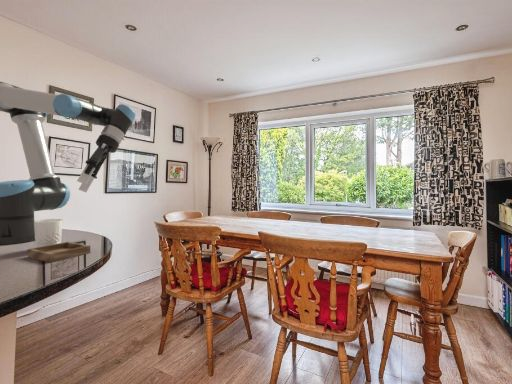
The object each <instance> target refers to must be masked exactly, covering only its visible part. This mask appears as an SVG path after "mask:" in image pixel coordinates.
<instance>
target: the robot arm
mask: <svg viewBox="0 0 512 384" xmlns="http://www.w3.org/2000/svg"><path fill="white" fill-rule="evenodd" d="M0 112H4V113H8V114H9V116H10V120H11V122H13V123H14V124H16V125H17V128H18V133H19V136H20V141H21V145H22V150H23V153H24V157H25V161H26V165H27V169H28V172H29V173H28V174H29V178H28V179H19V180H7V181H0V245H11V244H13V245H15V244H21V243H28V242H32V241H35V232H34V221H36V220H35V212H38V211H39V212H40V211H47V210H48V211H52V210H53V211H54V210H57V209H58V210H59V209H61V208H63V207H65V206H66V205H67V204H68V201H69V200H70V198H71V191H70V190H71V189H70V188H69V186H68V185H67V184H65V183H64V182H62V180H61V176H58V175H56V174H55V169H54V166H53V161H52V157H51V154H50V150H49V146H48V141H47V137H46V135H45V130H44V126H43V123H44V122H45V121H46V118H47V117H48V115H54V116H59V117H65V118H69V119H74V120H78V121H82V122H85V123H86V122H87V123H89V124H91V125H94V126H95V125H96V126H101V127H103V129H102V131H101V132H100V134H99V136H98V138H97V139H96V140H95V144H96V146H97V148H96V149H95V151H94V152H93V154H92V155H91V156H90V158H88V159H87V160H85V161H84V162H85V164H86V165H85V167H84V169H83V170H82V172H81V174H80V176H79V177H78V178H77V180H76V182H79V183H81V184H80V186H79V188H78V190H79V191H82V192H84V193H87V192H88V190H89V188H90V187H91V185H92V183H94V180H97V179H98V176H97V175H98V173H99V171H100V169H101V168H102V166H103V164H104V162H105V160H106V159H107V158H108V157H109V153H111V154H114V153H116V152H117V150H118V149H119V147H120V144H121V143H122V141H125V139H126V138H125V136H126V133H127V132H128V131H129V129H130V128H131V125H132V124H133V123H134V120H135V118H136V112H135V111H134V110H133V109H132V108H131V107H130V106H128V105H126V104H123V103H122V104H118V106H116V107H115V109H114V108H108V107H105V106H100V105H97V104H95V103H91V102H88V101H86V100H83V99H80V98H78V97H75V96H74V95H70V94H66V93H60V94H55V93H50V92H43V91H37V90H31V89H26V88H23V87H22V88H21V87H19V86H16V85H14V84H11V83H7V82H3V81H0Z"/></svg>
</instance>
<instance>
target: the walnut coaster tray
mask: <svg viewBox="0 0 512 384" xmlns="http://www.w3.org/2000/svg"><path fill="white" fill-rule="evenodd" d="M87 254H91V245H88V244H82V243H78V242H72V241H65V242H61V243H59V244H54V245H48V246H43V247H38V248H36V247H33V248H28V249H27V257H28V258H31V259H34V260H39V261H42V262H47V263H51V264H52V263H54V262H59V261H63V260H67V259H71V258H75V257H80V256H83V255H87Z"/></svg>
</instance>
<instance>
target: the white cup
mask: <svg viewBox="0 0 512 384" xmlns="http://www.w3.org/2000/svg"><path fill="white" fill-rule="evenodd" d="M34 232H35V240H34V243H35V248H38V247H43V246H48V245H54V244H59V243H62V238H63V237H62V236H63V235H62V234H63V219H61V218H46V219H38V220H35V221H34Z"/></svg>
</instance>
